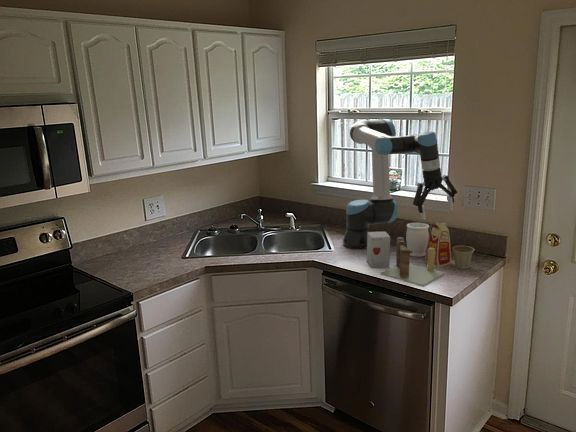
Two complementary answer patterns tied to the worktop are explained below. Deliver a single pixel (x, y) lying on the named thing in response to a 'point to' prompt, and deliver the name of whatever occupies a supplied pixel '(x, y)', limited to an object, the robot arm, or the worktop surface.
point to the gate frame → (415, 270)
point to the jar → (417, 238)
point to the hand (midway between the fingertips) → (437, 214)
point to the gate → (403, 259)
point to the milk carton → (440, 245)
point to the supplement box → (378, 249)
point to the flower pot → (462, 256)
